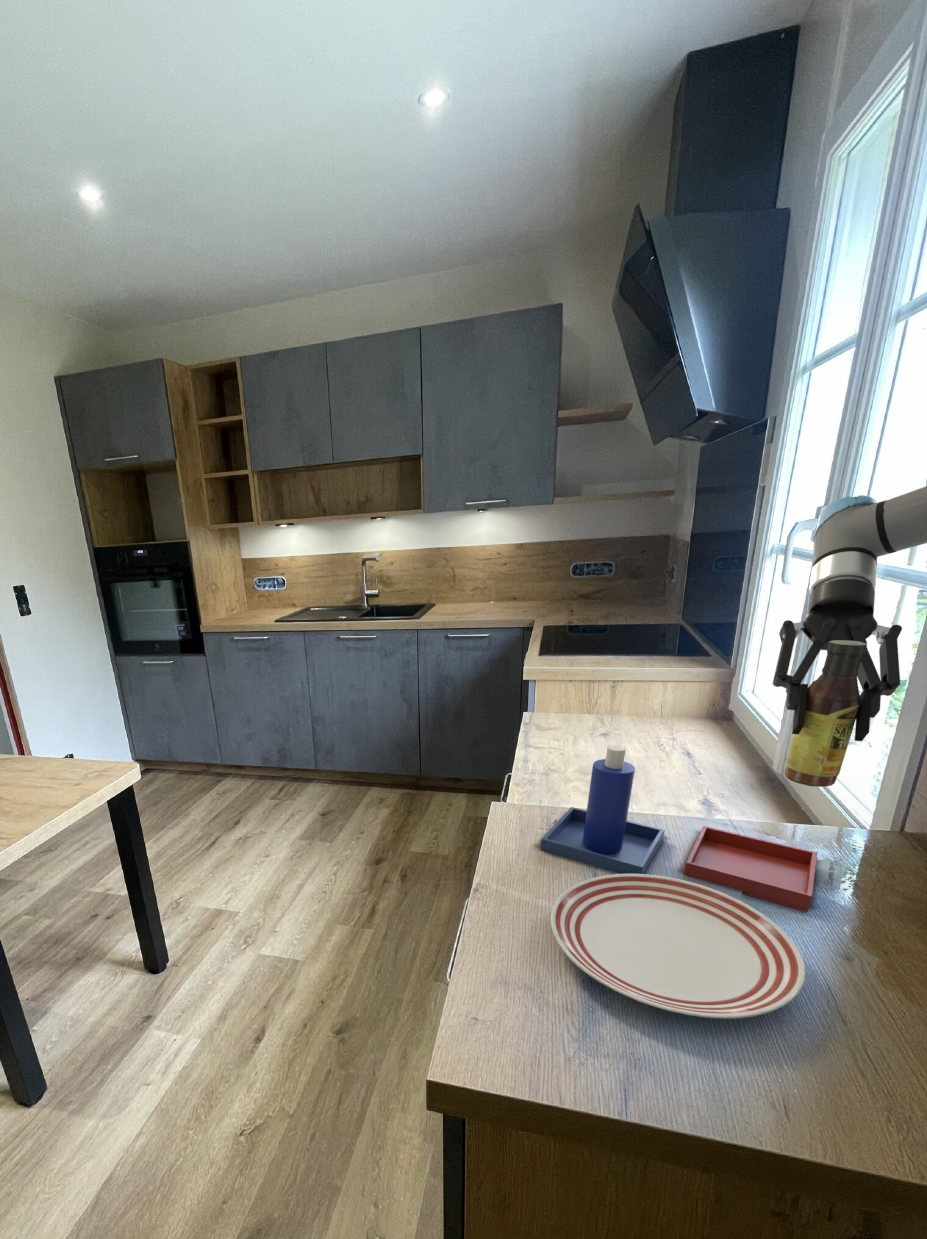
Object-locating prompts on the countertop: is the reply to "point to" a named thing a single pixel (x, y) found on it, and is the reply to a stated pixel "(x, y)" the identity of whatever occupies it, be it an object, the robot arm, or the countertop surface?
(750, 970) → the dinner plate
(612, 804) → the blue bottle
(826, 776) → the sauce bottle
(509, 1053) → the countertop surface
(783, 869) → the red tray
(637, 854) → the blue tray
